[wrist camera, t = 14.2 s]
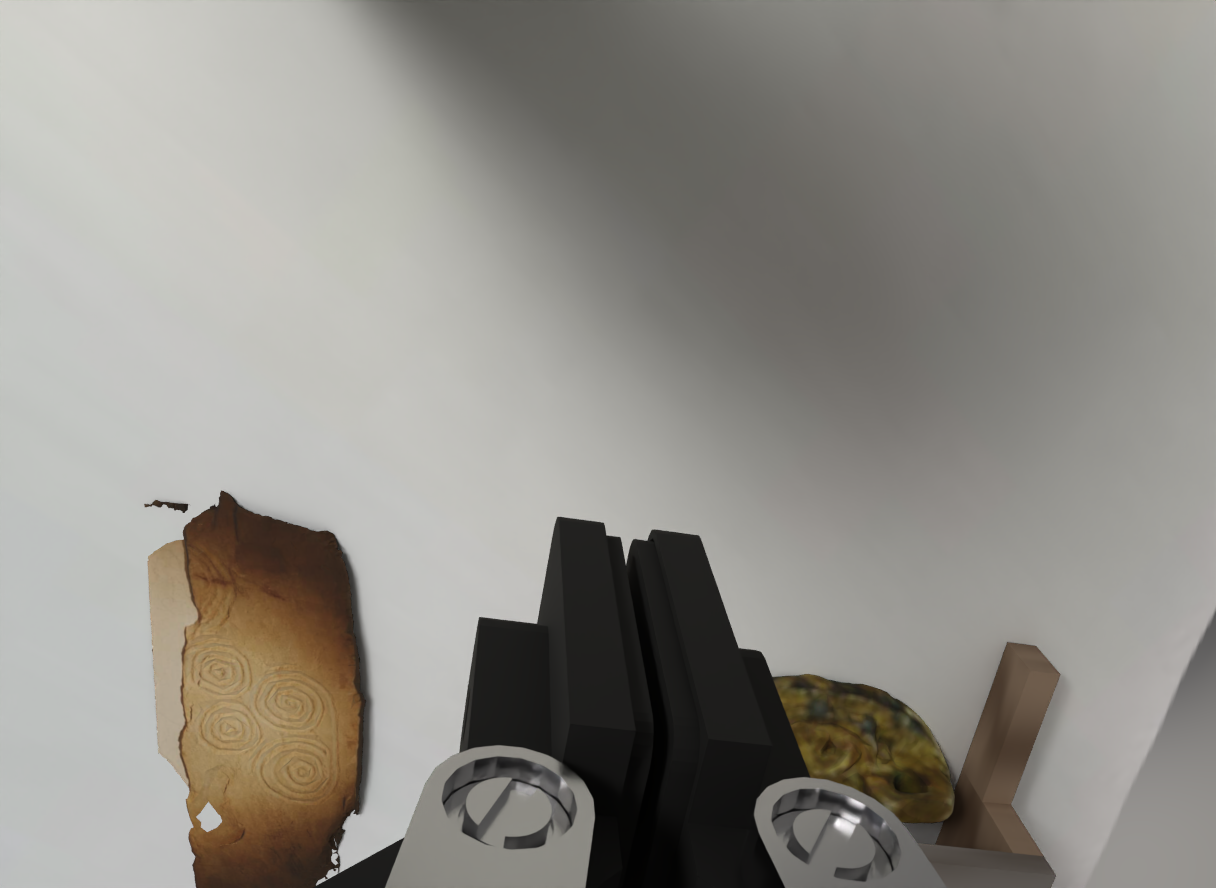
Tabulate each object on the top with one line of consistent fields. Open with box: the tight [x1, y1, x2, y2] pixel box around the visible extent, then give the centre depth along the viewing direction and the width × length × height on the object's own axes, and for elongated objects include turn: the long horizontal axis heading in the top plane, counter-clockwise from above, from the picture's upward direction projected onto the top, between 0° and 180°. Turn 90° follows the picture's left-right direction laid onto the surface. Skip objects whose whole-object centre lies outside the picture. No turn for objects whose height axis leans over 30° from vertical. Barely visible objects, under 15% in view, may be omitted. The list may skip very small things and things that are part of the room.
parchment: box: [144, 491, 366, 888], centre depth 49 cm, size 25×10×1 cm, turn 174°
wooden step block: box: [917, 642, 1060, 888], centre depth 48 cm, size 16×21×7 cm
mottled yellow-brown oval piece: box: [772, 674, 955, 823], centre depth 50 cm, size 9×5×15 cm
